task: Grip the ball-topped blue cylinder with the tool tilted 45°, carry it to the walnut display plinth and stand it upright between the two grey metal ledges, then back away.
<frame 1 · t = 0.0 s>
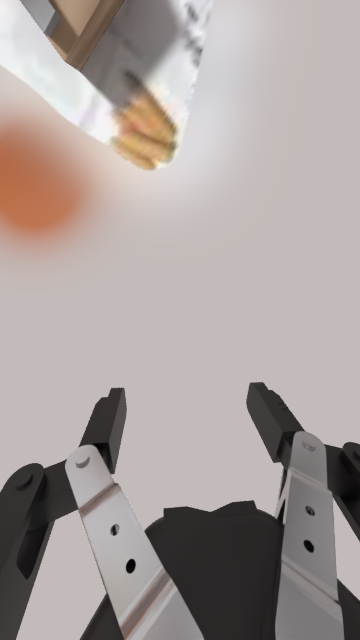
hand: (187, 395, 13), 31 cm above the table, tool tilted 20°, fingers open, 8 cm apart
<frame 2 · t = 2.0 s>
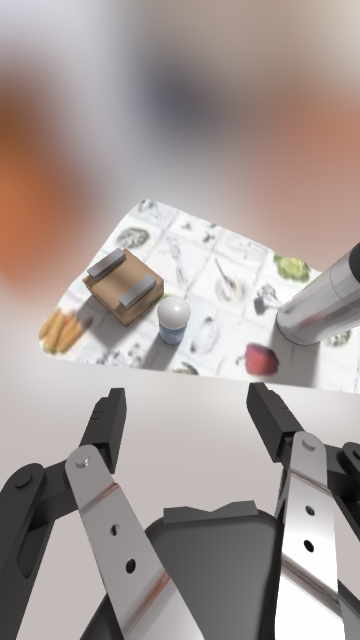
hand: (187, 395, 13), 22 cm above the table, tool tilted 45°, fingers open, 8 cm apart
ball-topped blue cylinder: (172, 333, 38), on the table
display plinth: (128, 293, 40), on the table
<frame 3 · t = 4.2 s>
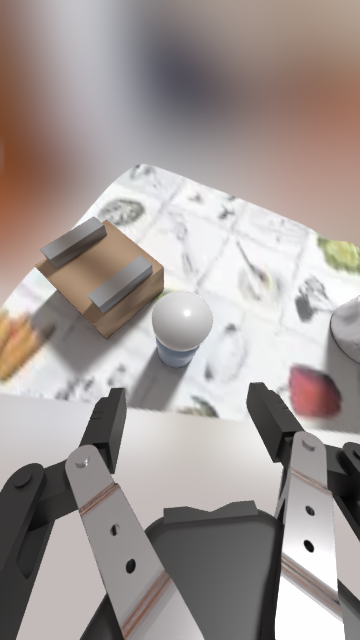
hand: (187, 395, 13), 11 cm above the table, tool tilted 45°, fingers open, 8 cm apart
ball-topped blue cylinder: (176, 349, 25), on the table
display plinth: (111, 289, 27), on the table
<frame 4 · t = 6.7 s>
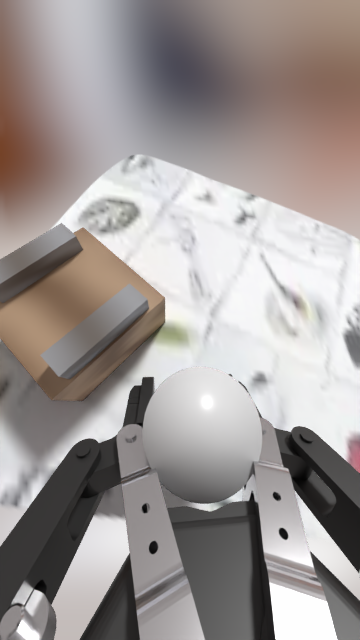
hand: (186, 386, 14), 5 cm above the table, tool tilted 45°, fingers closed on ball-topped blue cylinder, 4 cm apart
ball-topped blue cylinder: (182, 414, 17), on the table, touching gripper
display plinth: (92, 322, 20), on the table
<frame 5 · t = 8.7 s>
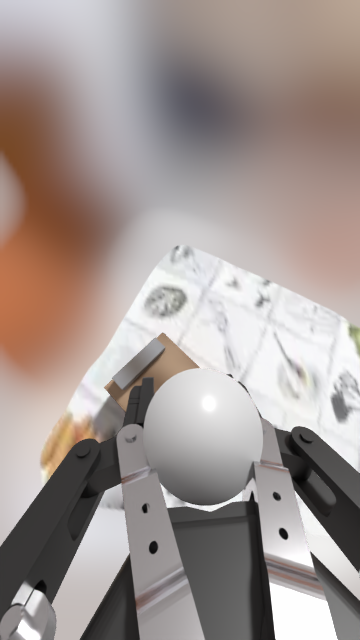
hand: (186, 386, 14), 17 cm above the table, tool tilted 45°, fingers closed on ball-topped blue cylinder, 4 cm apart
ball-topped blue cylinder: (183, 414, 17), point 13 cm above the table, touching gripper
display plinth: (162, 388, 30), on the table
when the fingers open (11 cm above the table, at t = 10.8 s): ball-topped blue cylinder drops 1 cm, resting on display plinth.
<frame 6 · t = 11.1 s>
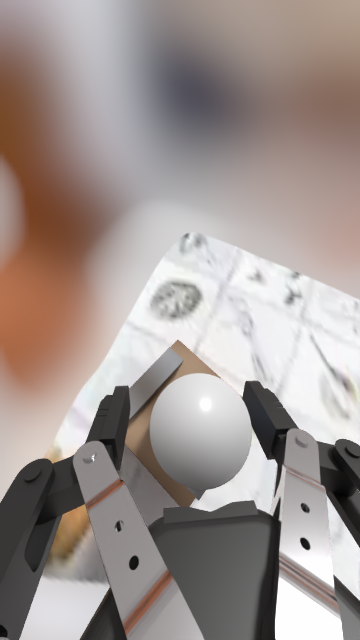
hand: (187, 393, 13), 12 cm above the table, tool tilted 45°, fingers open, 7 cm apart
ball-topped blue cylinder: (182, 414, 18), point 5 cm above the table, touching display plinth
display plinth: (177, 411, 23), on the table
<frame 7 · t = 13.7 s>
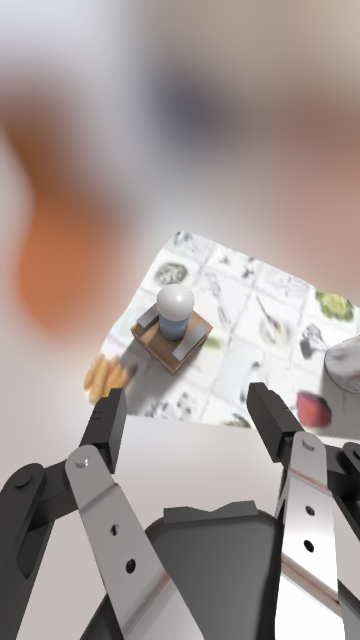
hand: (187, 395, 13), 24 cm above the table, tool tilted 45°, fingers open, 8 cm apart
ball-topped blue cylinder: (173, 328, 34), point 5 cm above the table, touching display plinth
display plinth: (171, 337, 39), on the table
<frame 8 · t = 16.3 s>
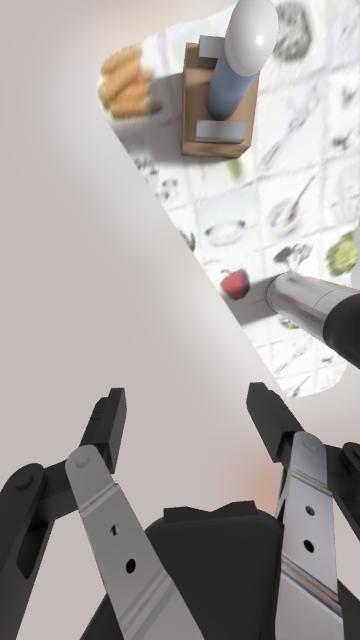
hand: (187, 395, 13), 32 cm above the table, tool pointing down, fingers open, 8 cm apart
ball-topped blue cylinder: (221, 100, 28), point 5 cm above the table, touching display plinth
display plinth: (213, 117, 32), on the table
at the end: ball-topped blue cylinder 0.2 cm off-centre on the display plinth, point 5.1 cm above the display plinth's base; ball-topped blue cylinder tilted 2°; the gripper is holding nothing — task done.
